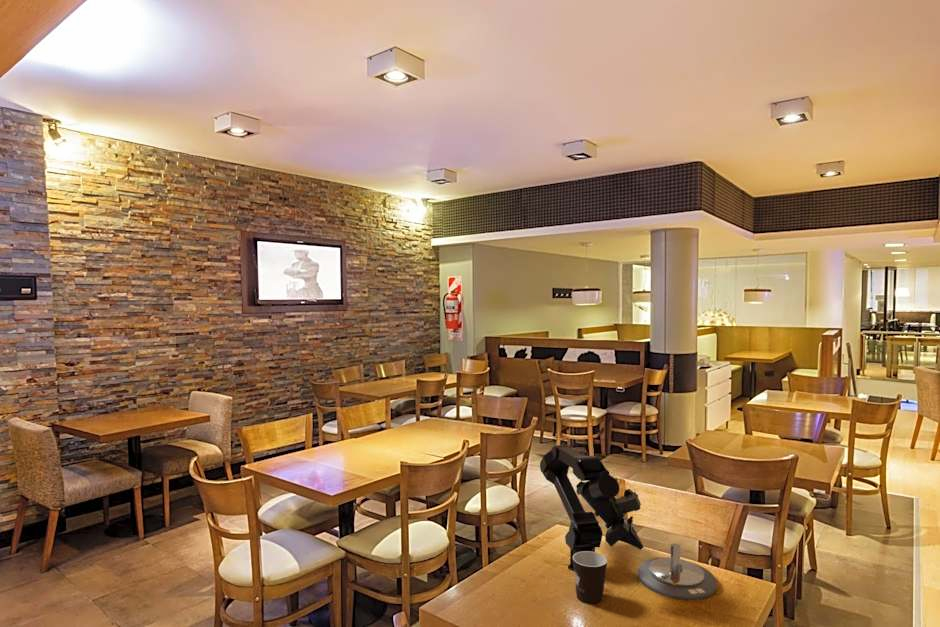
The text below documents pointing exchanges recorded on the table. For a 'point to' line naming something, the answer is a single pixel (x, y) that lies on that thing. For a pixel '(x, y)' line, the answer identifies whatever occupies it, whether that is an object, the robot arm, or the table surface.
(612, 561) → the table surface
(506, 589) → the table surface
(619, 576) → the table surface
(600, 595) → the coffee mug
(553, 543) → the table surface
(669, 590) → the dial base
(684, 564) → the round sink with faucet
